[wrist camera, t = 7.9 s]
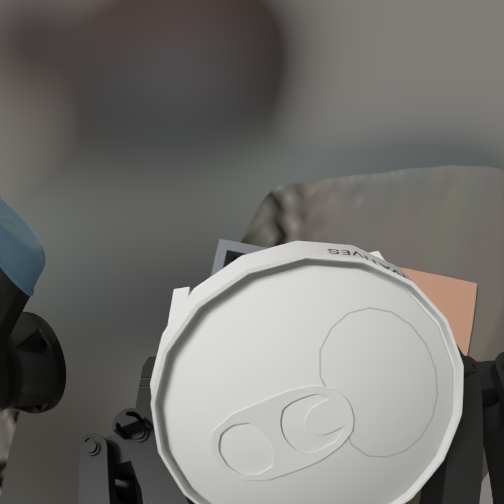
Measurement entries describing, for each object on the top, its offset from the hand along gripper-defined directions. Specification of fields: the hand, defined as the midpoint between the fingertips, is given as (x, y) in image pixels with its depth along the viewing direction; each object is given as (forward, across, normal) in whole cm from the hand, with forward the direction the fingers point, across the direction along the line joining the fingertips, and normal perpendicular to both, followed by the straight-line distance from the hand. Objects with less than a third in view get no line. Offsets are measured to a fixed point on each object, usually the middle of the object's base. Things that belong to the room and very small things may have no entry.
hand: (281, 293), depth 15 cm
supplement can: (+2, 0, -7) cm, 7 cm away
